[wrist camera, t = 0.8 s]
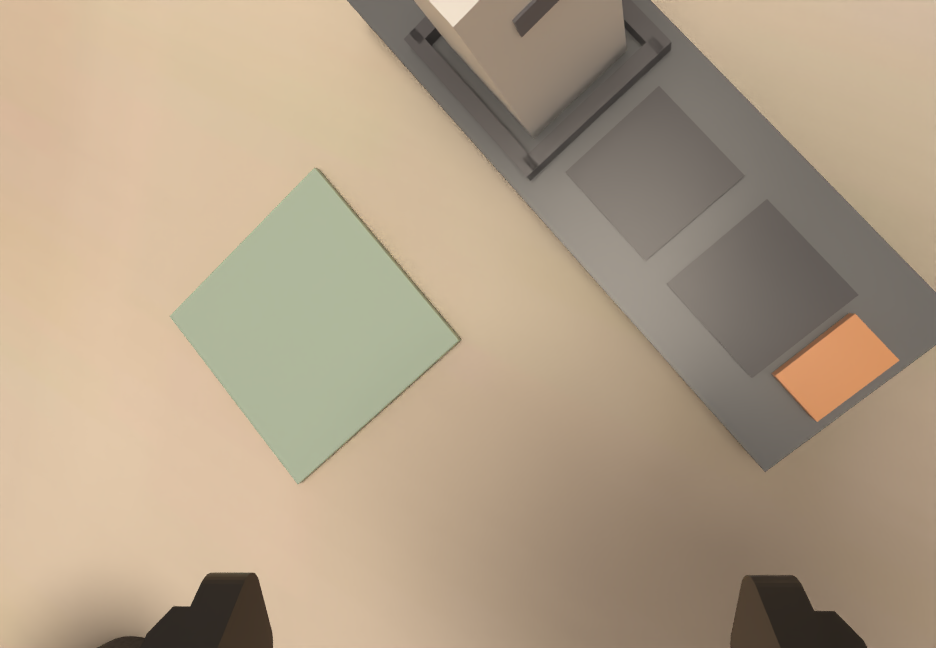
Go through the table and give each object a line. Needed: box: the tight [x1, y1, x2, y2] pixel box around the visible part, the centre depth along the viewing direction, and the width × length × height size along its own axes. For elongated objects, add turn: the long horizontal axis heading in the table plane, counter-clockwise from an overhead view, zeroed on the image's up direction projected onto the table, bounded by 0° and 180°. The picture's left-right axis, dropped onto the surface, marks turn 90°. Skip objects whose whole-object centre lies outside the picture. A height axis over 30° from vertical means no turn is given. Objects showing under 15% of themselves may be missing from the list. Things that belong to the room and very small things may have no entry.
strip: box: [347, 0, 936, 472], centre depth 27 cm, size 38×8×3 cm, turn 41°
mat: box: [170, 168, 461, 484], centre depth 31 cm, size 10×10×1 cm
